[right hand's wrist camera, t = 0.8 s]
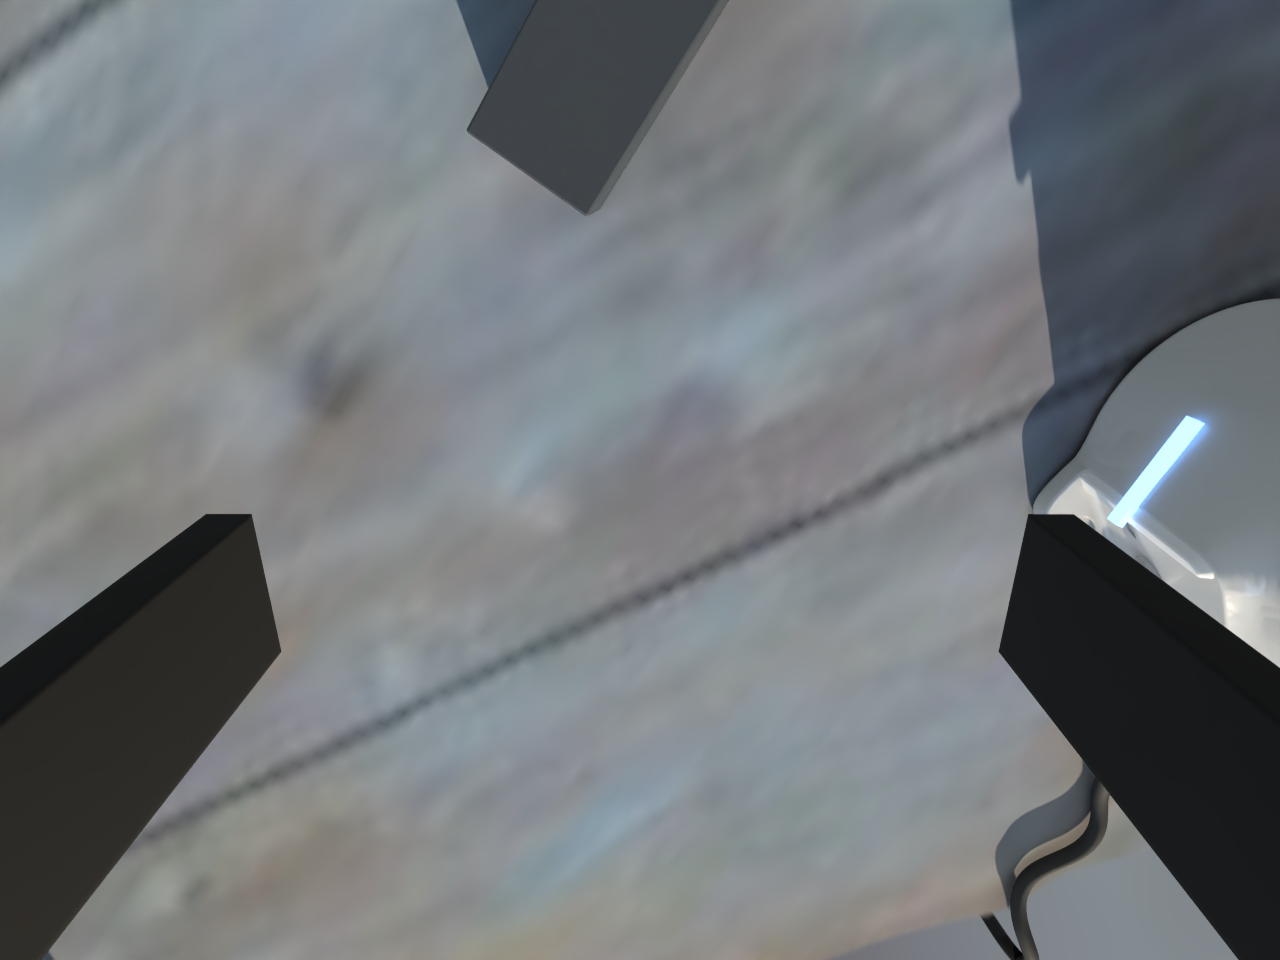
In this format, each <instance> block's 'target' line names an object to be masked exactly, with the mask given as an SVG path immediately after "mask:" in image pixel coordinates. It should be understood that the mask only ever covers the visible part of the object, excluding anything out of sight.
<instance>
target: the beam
mask: <svg viewBox="0 0 1280 960" xmlns="http://www.w3.org/2000/svg"><path fill="white" fill-rule="evenodd" d="M728 1H729V0H536V1H535V3H534V5H533V7H532V8H531V10H530V12H529V14H528V16H527V18H526V20H525V21H524V23H523V25H522V27H521V29H520V31H519V33H518V35H517V36H516V38H515V40H514V42H513V44H512V46H511V48H510V50H509V51H508V53H507V55H506V57H505V59H504V61H503V63H502V64H501V66H500V68H499V70H498V72H497V74H496V76H495V78H494V79H493V81H492V83H491V85H490V87H489V89H488V91H487V93H486V94H485V96H484V98H483V100H482V102H481V104H480V106H479V107H478V109H477V111H476V113H475V115H474V117H473V119H472V121H471V122H470V124H469V126H468V128H467V132H468V133H469V134H471V135H472V136H473V137H475V138H476V139H478V140H479V141H480V142H482V143H483V144H485V145H486V146H487V147H489V148H490V149H492V150H493V151H495V152H496V153H497V154H499V155H500V156H502V157H503V158H504V159H506V160H507V161H509V162H510V163H511V164H513V165H514V166H516V167H517V168H518V169H520V170H521V171H523V172H524V173H526V174H527V175H528V176H530V177H531V178H533V179H534V180H535V181H537V182H538V183H540V184H541V185H542V186H544V187H545V188H547V189H548V190H550V191H551V192H552V193H554V194H555V195H557V196H558V197H559V198H561V199H562V200H564V201H565V202H566V203H568V204H569V205H571V206H572V207H573V208H575V209H576V210H578V211H579V212H581V213H582V214H583V215H585V216H588V215H590V214H592V213H594V212H596V211H597V210H599V209H600V208H601V207H602V205H603V203H604V202H605V200H606V198H607V197H608V195H609V194H610V192H611V190H612V189H613V187H614V186H615V184H616V182H617V181H618V179H619V177H620V176H621V174H622V173H623V171H624V169H625V168H626V166H627V164H628V163H629V161H630V160H631V158H632V156H633V155H634V153H635V152H636V150H637V148H638V147H639V145H640V143H641V142H642V140H643V139H644V137H645V135H646V134H647V132H648V131H649V129H650V127H651V126H652V124H653V122H654V121H655V119H656V118H657V116H658V114H659V113H660V111H661V110H662V108H663V106H664V105H665V103H666V101H667V100H668V98H669V97H670V95H671V93H672V92H673V90H674V88H675V87H676V85H677V84H678V82H679V80H680V79H681V77H682V76H683V74H684V72H685V71H686V69H687V67H688V66H689V64H690V63H691V61H692V59H693V58H694V56H695V55H696V53H697V51H698V50H699V48H700V46H701V45H702V43H703V42H704V40H705V38H706V37H707V35H708V34H709V32H710V30H711V29H712V27H713V25H714V24H715V22H716V21H717V19H718V17H719V16H720V14H721V12H722V11H723V9H724V8H725V6H726V4H727V3H728Z"/></svg>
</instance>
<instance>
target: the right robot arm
mask: <svg viewBox="0 0 1280 960" xmlns="http://www.w3.org/2000/svg"><path fill="white" fill-rule="evenodd" d="M280 653H281V648H280V643H279V639H278V634H277V629H276V625H275V620H274V616H273V611H272V606H271V602H270V597H269V593H268V588H267V583H266V579H265V574H264V569H263V565H262V560H261V556H260V551H259V546H258V542H257V537H256V533H255V528H254V523H253V519H252V514H206V515H204V516H203V517H202V518H200V519H199V520H198V521H196V522H195V523H194V524H192V525H191V526H190V527H188V528H187V529H186V530H184V531H183V532H182V533H180V534H179V535H178V536H176V537H175V538H174V539H172V540H171V541H170V542H168V543H167V544H165V545H164V546H163V547H161V548H160V549H159V550H157V551H156V552H155V553H153V554H152V555H151V556H149V557H148V558H147V559H145V560H144V561H143V562H141V563H140V564H139V565H137V566H136V567H135V568H133V569H132V570H131V571H129V572H128V573H127V574H125V575H124V576H123V577H121V578H120V579H119V580H117V581H116V582H115V583H113V584H112V585H110V586H109V587H108V588H106V589H105V590H104V591H102V592H101V593H100V594H98V595H97V596H96V597H94V598H93V599H92V600H90V601H89V602H88V603H86V604H85V605H84V606H82V607H81V608H80V609H78V610H77V611H76V612H74V613H73V614H72V615H70V616H69V617H68V618H66V619H65V620H64V621H62V622H61V623H59V624H58V625H57V626H55V627H54V628H53V629H51V630H50V631H49V632H47V633H46V634H45V635H43V636H42V637H41V638H39V639H38V640H37V641H35V642H34V643H33V644H31V645H30V646H29V647H27V648H26V649H25V650H23V651H22V652H21V653H19V654H18V655H17V656H15V657H14V658H13V659H11V660H10V661H9V662H7V663H6V664H4V665H3V666H2V667H0V960H42V958H43V957H44V956H45V954H46V953H47V952H48V951H49V949H50V948H51V947H52V945H53V944H54V943H55V942H56V940H57V939H58V938H59V936H60V935H61V934H62V933H63V931H64V930H65V929H66V927H67V926H68V925H69V924H70V922H71V921H72V920H73V918H74V917H75V916H76V915H77V913H78V912H79V911H80V909H81V908H82V907H83V906H84V904H85V903H86V902H87V900H88V899H89V898H90V897H91V895H92V894H93V893H94V891H95V890H96V889H97V888H98V886H99V885H100V884H101V882H102V881H103V880H104V879H105V877H106V876H107V875H108V874H109V872H110V871H111V870H112V868H113V867H114V866H115V865H116V863H117V862H118V861H119V859H120V858H121V857H122V856H123V854H124V853H125V852H126V850H127V849H128V848H129V847H130V845H131V844H132V843H133V841H134V840H135V839H136V838H137V836H138V835H139V834H140V832H141V831H142V830H143V829H144V827H145V826H146V825H147V823H148V822H149V821H150V820H151V818H152V817H153V816H154V814H155V813H156V812H157V811H158V809H159V808H160V807H161V805H162V804H163V803H164V802H165V800H166V799H167V798H168V796H169V795H170V794H171V793H172V791H173V790H174V789H175V787H176V786H177V785H178V784H179V782H180V781H181V780H182V778H183V777H184V776H185V775H186V773H187V772H188V771H189V769H190V768H191V767H192V766H193V764H194V763H195V762H196V760H197V759H198V758H199V757H200V755H201V754H202V753H203V751H204V750H205V749H206V748H207V746H208V745H209V744H210V742H211V741H212V740H213V739H214V737H215V736H216V735H217V734H218V732H219V731H220V730H221V728H222V727H223V726H224V725H225V723H226V722H227V721H228V719H229V718H230V717H231V716H232V714H233V713H234V712H235V710H236V709H237V708H238V707H239V705H240V704H241V703H242V701H243V700H244V699H245V698H246V696H247V695H248V694H249V692H250V691H251V690H252V689H253V687H254V686H255V685H256V683H257V682H258V681H259V680H260V678H261V677H262V676H263V674H264V673H265V672H266V671H267V669H268V668H269V667H270V665H271V664H272V663H273V662H274V660H275V659H276V658H277V656H278V655H279V654H280ZM999 653H1000V654H1001V655H1002V656H1003V658H1004V659H1005V660H1006V662H1007V663H1008V664H1009V665H1010V667H1011V668H1012V669H1013V671H1014V672H1015V673H1016V674H1017V676H1018V677H1019V678H1020V680H1021V681H1022V682H1023V683H1024V685H1025V686H1026V687H1027V689H1028V690H1029V691H1030V692H1031V694H1032V695H1033V696H1034V698H1035V699H1036V700H1037V701H1038V703H1039V704H1040V705H1041V707H1042V708H1043V709H1044V710H1045V712H1046V713H1047V714H1048V716H1049V717H1050V718H1051V719H1052V721H1053V722H1054V723H1055V725H1056V726H1057V727H1058V728H1059V730H1060V731H1061V732H1062V734H1063V735H1064V736H1065V737H1066V739H1067V740H1068V741H1069V742H1070V744H1071V745H1072V746H1073V748H1074V749H1075V750H1076V751H1077V753H1078V754H1079V755H1080V757H1081V758H1082V759H1083V760H1084V762H1085V763H1086V764H1087V766H1088V767H1089V768H1090V769H1091V771H1092V772H1093V773H1094V775H1095V776H1096V777H1097V778H1098V780H1099V781H1100V782H1101V784H1102V785H1103V786H1104V787H1105V789H1106V790H1107V791H1108V793H1109V794H1110V795H1111V796H1112V798H1113V799H1114V800H1115V802H1116V803H1117V804H1118V805H1119V807H1120V808H1121V809H1122V811H1123V812H1124V813H1125V814H1126V816H1127V817H1128V818H1129V820H1130V821H1131V822H1132V823H1133V825H1134V826H1135V827H1136V829H1137V830H1138V831H1139V832H1140V834H1141V835H1142V836H1143V838H1144V839H1145V840H1146V841H1147V843H1148V844H1149V845H1150V847H1151V848H1152V849H1153V850H1154V852H1155V853H1156V854H1157V856H1158V857H1159V858H1160V859H1161V861H1162V862H1163V863H1164V865H1165V866H1166V867H1167V868H1168V870H1169V871H1170V872H1171V874H1172V875H1173V876H1174V877H1175V879H1176V880H1177V881H1178V882H1179V884H1180V885H1181V886H1182V888H1183V889H1184V890H1185V891H1186V893H1187V894H1188V895H1189V897H1190V898H1191V899H1192V900H1193V902H1194V903H1195V904H1196V906H1197V907H1198V908H1199V909H1200V911H1201V912H1202V913H1203V915H1204V916H1205V917H1206V918H1207V920H1208V921H1209V922H1210V924H1211V925H1212V926H1213V927H1214V929H1215V930H1216V931H1217V933H1218V934H1219V935H1220V936H1221V938H1222V939H1223V940H1224V942H1225V943H1226V944H1227V945H1228V947H1229V948H1230V949H1231V951H1232V952H1233V953H1234V954H1235V956H1236V957H1237V958H1238V960H1280V667H1278V666H1277V665H1276V664H1274V663H1273V662H1271V661H1270V660H1269V659H1267V658H1266V657H1265V656H1263V655H1262V654H1261V653H1259V652H1258V651H1257V650H1255V649H1254V648H1253V647H1251V646H1250V645H1249V644H1247V643H1246V642H1245V641H1243V640H1242V639H1241V638H1239V637H1238V636H1237V635H1235V634H1234V633H1233V632H1231V631H1230V630H1229V629H1227V628H1226V627H1225V626H1223V625H1222V624H1221V623H1219V622H1218V621H1216V620H1215V619H1214V618H1212V617H1211V616H1210V615H1208V614H1207V613H1206V612H1204V611H1203V610H1202V609H1200V608H1199V607H1198V606H1196V605H1195V604H1194V603H1192V602H1191V601H1190V600H1188V599H1187V598H1186V597H1184V596H1183V595H1182V594H1180V593H1179V592H1178V591H1176V590H1175V589H1174V588H1172V587H1171V586H1170V585H1168V584H1167V583H1165V582H1164V581H1163V580H1161V579H1160V578H1159V577H1157V576H1156V575H1155V574H1153V573H1152V572H1151V571H1149V570H1148V569H1147V568H1145V567H1144V566H1143V565H1141V564H1140V563H1139V562H1137V561H1136V560H1135V559H1133V558H1132V557H1131V556H1129V555H1128V554H1127V553H1125V552H1124V551H1123V550H1121V549H1120V548H1119V547H1117V546H1116V545H1115V544H1113V543H1112V542H1110V541H1109V540H1108V539H1106V538H1105V537H1104V536H1102V535H1101V534H1100V533H1098V532H1097V531H1096V530H1094V529H1093V528H1092V527H1090V526H1089V525H1088V524H1086V523H1085V522H1084V521H1082V520H1081V519H1080V518H1078V517H1077V516H1076V515H1074V514H1028V519H1027V523H1026V528H1025V533H1024V537H1023V542H1022V546H1021V551H1020V556H1019V560H1018V565H1017V569H1016V574H1015V579H1014V583H1013V588H1012V593H1011V597H1010V602H1009V606H1008V611H1007V616H1006V620H1005V625H1004V629H1003V634H1002V639H1001V643H1000V648H999Z"/></svg>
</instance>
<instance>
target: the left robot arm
mask: <svg viewBox="0 0 1280 960" xmlns="http://www.w3.org/2000/svg"><path fill="white" fill-rule="evenodd" d="M1033 514H1074V515H1076V516H1077V517H1078V518H1080V519H1081V520H1082V521H1084V522H1085V523H1086V524H1088V525H1089V526H1090V527H1092V528H1093V529H1094V530H1096V531H1097V532H1098V533H1100V534H1101V535H1102V536H1104V537H1105V538H1106V539H1108V540H1109V541H1110V542H1112V543H1113V544H1115V545H1116V546H1117V547H1119V548H1120V549H1121V550H1123V551H1124V552H1125V553H1127V554H1128V555H1129V556H1131V557H1132V558H1133V559H1135V560H1136V561H1137V562H1139V563H1140V564H1141V565H1143V566H1144V567H1145V568H1147V569H1148V570H1149V571H1151V572H1152V573H1153V574H1155V575H1156V576H1157V577H1159V578H1160V579H1161V580H1163V581H1164V582H1165V583H1167V584H1168V585H1170V586H1171V587H1172V588H1174V589H1175V590H1176V591H1178V592H1179V593H1180V594H1182V595H1183V596H1184V597H1186V598H1187V599H1188V600H1190V601H1191V602H1192V603H1194V604H1195V605H1196V606H1198V607H1199V608H1200V609H1202V610H1203V611H1204V612H1206V613H1207V614H1208V615H1210V616H1211V617H1212V618H1214V619H1215V620H1216V621H1218V622H1219V623H1221V624H1222V625H1223V626H1225V627H1226V628H1227V629H1229V630H1230V631H1231V632H1233V633H1234V634H1235V635H1237V636H1238V637H1239V638H1241V639H1242V640H1243V641H1245V642H1246V643H1247V644H1249V645H1250V646H1251V647H1253V648H1254V649H1255V650H1257V651H1258V652H1259V653H1261V654H1262V655H1263V656H1265V657H1266V658H1267V659H1269V660H1270V661H1271V662H1273V663H1274V664H1276V665H1277V666H1278V667H1280V298H1277V299H1266V300H1260V301H1254V302H1249V303H1245V304H1240V305H1237V306H1234V307H1230V308H1227V309H1224V310H1222V311H1219V312H1216V313H1214V314H1211V315H1209V316H1207V317H1205V318H1202V319H1200V320H1198V321H1196V322H1194V323H1192V324H1191V325H1189V326H1187V327H1185V328H1184V329H1182V330H1180V331H1179V332H1177V333H1176V334H1174V335H1172V336H1171V337H1169V338H1168V339H1167V340H1165V341H1164V342H1163V343H1161V344H1160V345H1158V346H1157V347H1156V348H1155V349H1154V350H1152V351H1151V352H1150V353H1149V354H1148V355H1146V356H1145V357H1144V358H1143V359H1142V360H1141V361H1140V362H1139V363H1138V364H1137V365H1136V366H1135V367H1134V368H1133V369H1132V370H1131V371H1130V372H1129V373H1128V374H1127V375H1126V376H1125V378H1124V379H1123V380H1122V381H1121V382H1120V383H1119V385H1118V386H1117V387H1116V389H1115V390H1114V391H1113V393H1112V394H1111V395H1110V397H1109V398H1108V400H1107V401H1106V403H1105V404H1104V406H1103V408H1102V409H1101V411H1100V413H1099V414H1098V416H1097V418H1096V420H1095V422H1094V424H1093V426H1092V428H1091V430H1090V432H1089V434H1088V436H1087V438H1086V440H1085V442H1084V444H1083V445H1082V447H1081V449H1080V450H1079V452H1078V453H1077V455H1076V456H1075V458H1074V459H1073V460H1072V461H1070V462H1069V463H1068V464H1067V465H1066V466H1065V467H1064V468H1063V469H1062V470H1061V471H1060V472H1059V473H1058V474H1057V475H1056V476H1055V477H1054V478H1053V479H1052V480H1051V481H1050V482H1049V483H1048V484H1047V485H1046V486H1045V487H1044V488H1043V490H1042V491H1041V492H1040V493H1039V495H1038V496H1037V498H1036V500H1035V502H1034V505H1033ZM1109 796H1110V794H1109V793H1108V791H1107V790H1106V789H1105V787H1104V786H1103V785H1102V784H1101V782H1100V781H1099V780H1098V778H1097V777H1096V779H1095V781H1094V783H1093V786H1092V790H1091V815H1090V821H1089V824H1088V826H1087V828H1086V830H1085V832H1084V833H1083V834H1082V835H1081V837H1080V838H1078V839H1077V840H1076V841H1075V842H1073V843H1072V844H1070V845H1068V846H1067V847H1065V848H1063V849H1060V850H1058V851H1056V852H1054V853H1051V854H1049V855H1047V856H1045V857H1042V858H1040V859H1038V860H1037V861H1035V862H1033V863H1031V864H1030V865H1029V866H1027V867H1026V868H1025V869H1024V870H1023V871H1022V872H1021V873H1020V874H1019V876H1018V877H1017V879H1016V881H1015V883H1014V886H1013V889H1012V894H1011V901H1010V910H1011V917H1012V922H1013V926H1014V930H1015V933H1016V936H1017V939H1018V942H1019V945H1020V948H1021V950H1022V952H1021V951H1020V950H1019V949H1018V948H1017V947H1016V945H1015V944H1014V943H1013V942H1012V940H1011V939H1010V937H1009V936H1008V935H1007V933H1006V932H1005V930H1004V929H1003V928H1002V926H1001V925H1000V923H999V921H998V920H997V918H996V917H995V915H994V914H993V913H991V914H987V915H983V916H980V917H981V918H982V920H983V921H984V923H985V925H986V926H987V928H988V929H989V931H990V932H991V934H992V935H993V937H994V938H995V940H996V941H997V943H998V944H999V946H1000V947H1001V949H1002V950H1003V951H1004V953H1005V954H1006V955H1007V956H1008V957H1009V959H1010V960H1039V955H1038V952H1037V949H1036V946H1035V943H1034V940H1033V937H1032V934H1031V931H1030V927H1029V923H1028V919H1027V912H1026V902H1027V898H1028V895H1029V893H1030V891H1031V889H1032V887H1033V886H1034V885H1035V884H1036V883H1037V882H1038V881H1039V880H1041V879H1042V878H1044V877H1045V876H1047V875H1049V874H1051V873H1053V872H1056V871H1058V870H1060V869H1062V868H1065V867H1067V866H1069V865H1072V864H1074V863H1076V862H1078V861H1080V860H1081V859H1083V858H1085V857H1086V856H1088V855H1089V854H1090V853H1091V852H1093V851H1094V850H1095V848H1096V847H1097V846H1098V845H1099V844H1100V842H1101V841H1102V839H1103V837H1104V835H1105V832H1106V828H1107V822H1108V800H1109Z"/></svg>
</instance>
